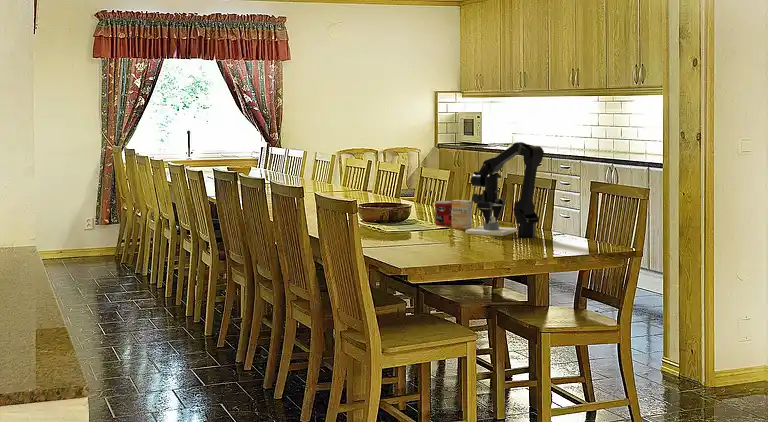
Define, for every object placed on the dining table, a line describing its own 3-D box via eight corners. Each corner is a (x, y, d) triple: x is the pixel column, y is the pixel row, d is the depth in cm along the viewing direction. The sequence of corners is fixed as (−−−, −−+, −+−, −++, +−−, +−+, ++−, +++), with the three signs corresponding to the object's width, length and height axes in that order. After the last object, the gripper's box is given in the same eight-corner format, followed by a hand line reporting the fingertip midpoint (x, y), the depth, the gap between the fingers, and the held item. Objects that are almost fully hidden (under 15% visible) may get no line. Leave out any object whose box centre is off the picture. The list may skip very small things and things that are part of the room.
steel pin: (496, 228, 425) (496, 216, 425) (493, 229, 422) (493, 217, 422) (489, 228, 427) (489, 216, 427) (486, 229, 424) (486, 217, 424)
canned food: (432, 224, 456) (432, 201, 455) (446, 223, 460) (446, 200, 459) (439, 225, 450) (439, 202, 448) (454, 224, 453) (454, 201, 452)
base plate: (516, 231, 427) (516, 228, 427) (502, 235, 414) (502, 232, 413) (480, 229, 436) (480, 225, 436) (465, 233, 423) (465, 230, 422)
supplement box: (451, 228, 440) (451, 200, 438) (455, 227, 444) (455, 199, 442) (467, 229, 436) (467, 201, 434) (471, 228, 440) (471, 200, 439)
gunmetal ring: (501, 228, 426) (501, 222, 426) (495, 230, 420) (495, 223, 420) (487, 227, 429) (487, 221, 429) (481, 229, 424) (481, 222, 423)
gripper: (483, 185, 435) (483, 219, 436) (466, 188, 419) (466, 224, 420) (506, 186, 429) (505, 220, 431) (489, 189, 413) (489, 225, 415)
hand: (491, 222), depth 424 cm, fingers open, 9 cm apart
